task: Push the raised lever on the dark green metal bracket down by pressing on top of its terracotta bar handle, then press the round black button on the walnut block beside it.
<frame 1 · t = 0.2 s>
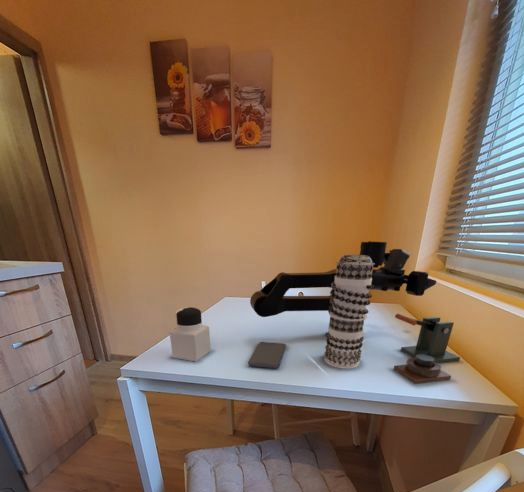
hand: (423, 280, 84), 17 cm above the table, tool horizontal, fingers open, 9 cm apart
medicine bottle: (192, 355, 72), on the table
decorative candle: (341, 362, 69), on the table
smartphone: (268, 356, 71), on the table
button block: (420, 375, 63), on the table
bracket: (428, 356, 73), on the table
button: (424, 361, 61), point 3 cm above the table, slide at 0.1 cm
lever: (422, 323, 68), point 9 cm above the table, hinge at 15.0°
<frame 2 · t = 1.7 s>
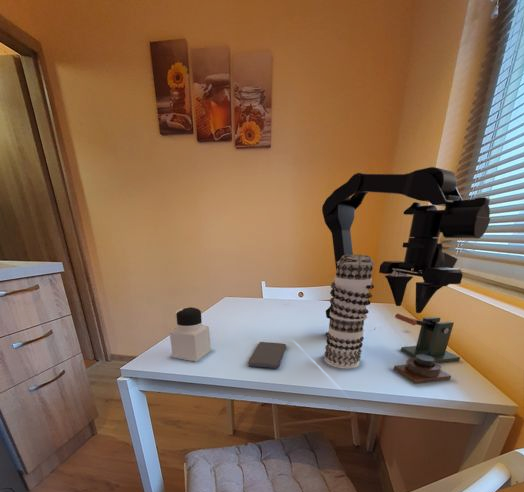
hand: (407, 309, 65), 13 cm above the table, tool pointing down, fingers open, 6 cm apart
nothing on the table moved.
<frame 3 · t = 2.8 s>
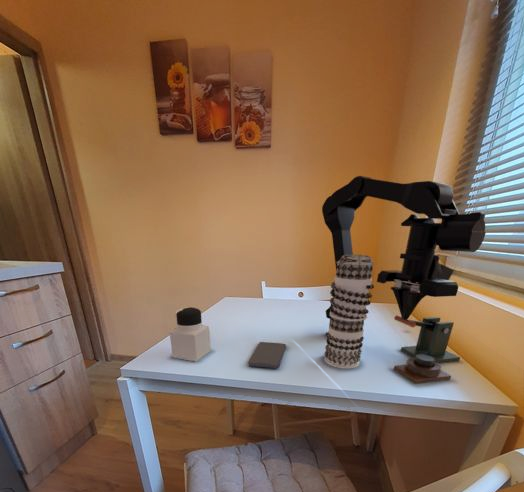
hand: (404, 318, 66), 11 cm above the table, tool pointing down, fingers closed, pressing on lever
lever: (422, 324, 68), point 9 cm above the table, hinge at 12.2°, touching gripper
everything else where it was.
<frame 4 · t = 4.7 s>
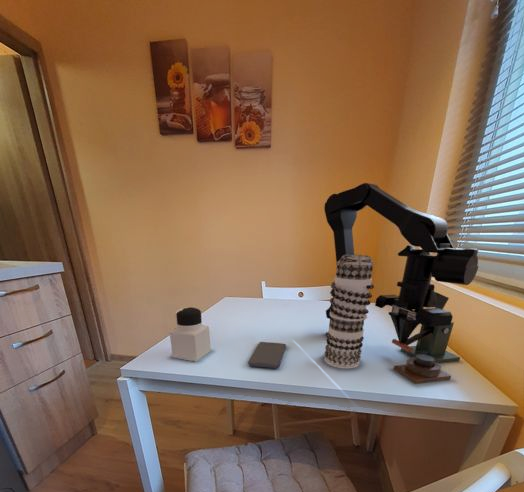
hand: (402, 342, 69), 5 cm above the table, tool pointing down, fingers closed, pressing on lever
lever: (420, 335, 69), point 6 cm above the table, hinge at -24.5°, touching gripper
everything else where it was.
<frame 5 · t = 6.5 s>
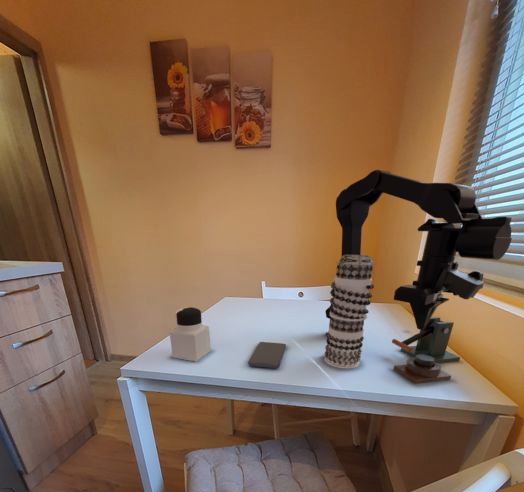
hand: (420, 329, 62), 10 cm above the table, tool pointing down, fingers closed
lever: (420, 335, 69), point 6 cm above the table, hinge at -24.5°
everything else where it was.
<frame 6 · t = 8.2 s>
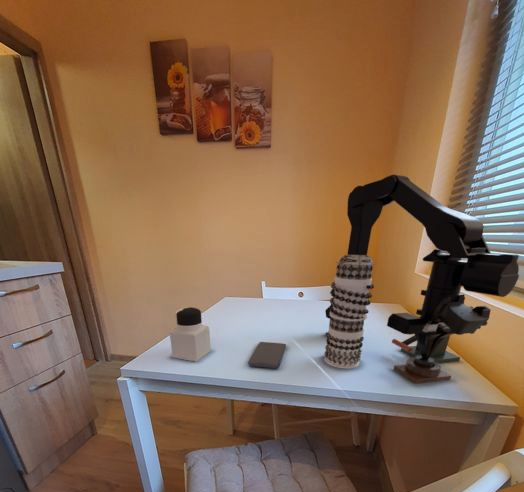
hand: (424, 358, 61), 4 cm above the table, tool pointing down, fingers closed, pressing on button
button: (424, 362, 61), point 3 cm above the table, slide at -0.1 cm, touching gripper
everything else where it was.
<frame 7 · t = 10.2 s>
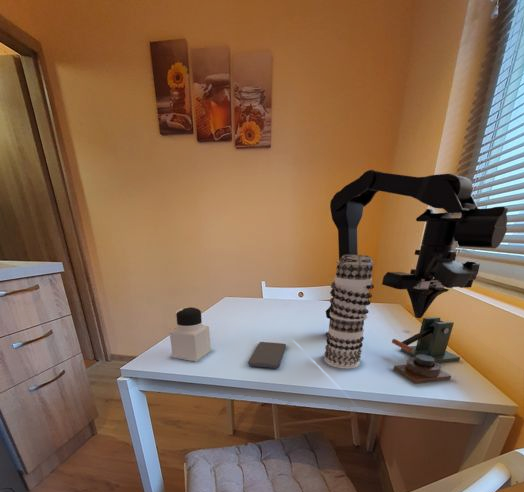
hand: (418, 317, 64), 12 cm above the table, tool pointing down, fingers closed
button: (424, 361, 61), point 3 cm above the table, slide at 0.1 cm
everything else where it was.
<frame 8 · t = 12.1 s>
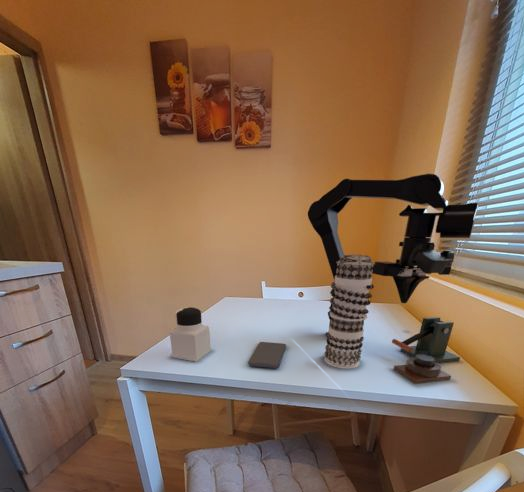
hand: (403, 302, 71), 13 cm above the table, tool pointing down, fingers closed
nothing on the table moved.
at the end: lever at -24° (first picture: +15°); button pushed in 1.1 cm at the most during the clip, back to where it started at the end; button slide at 0.1 cm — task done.
